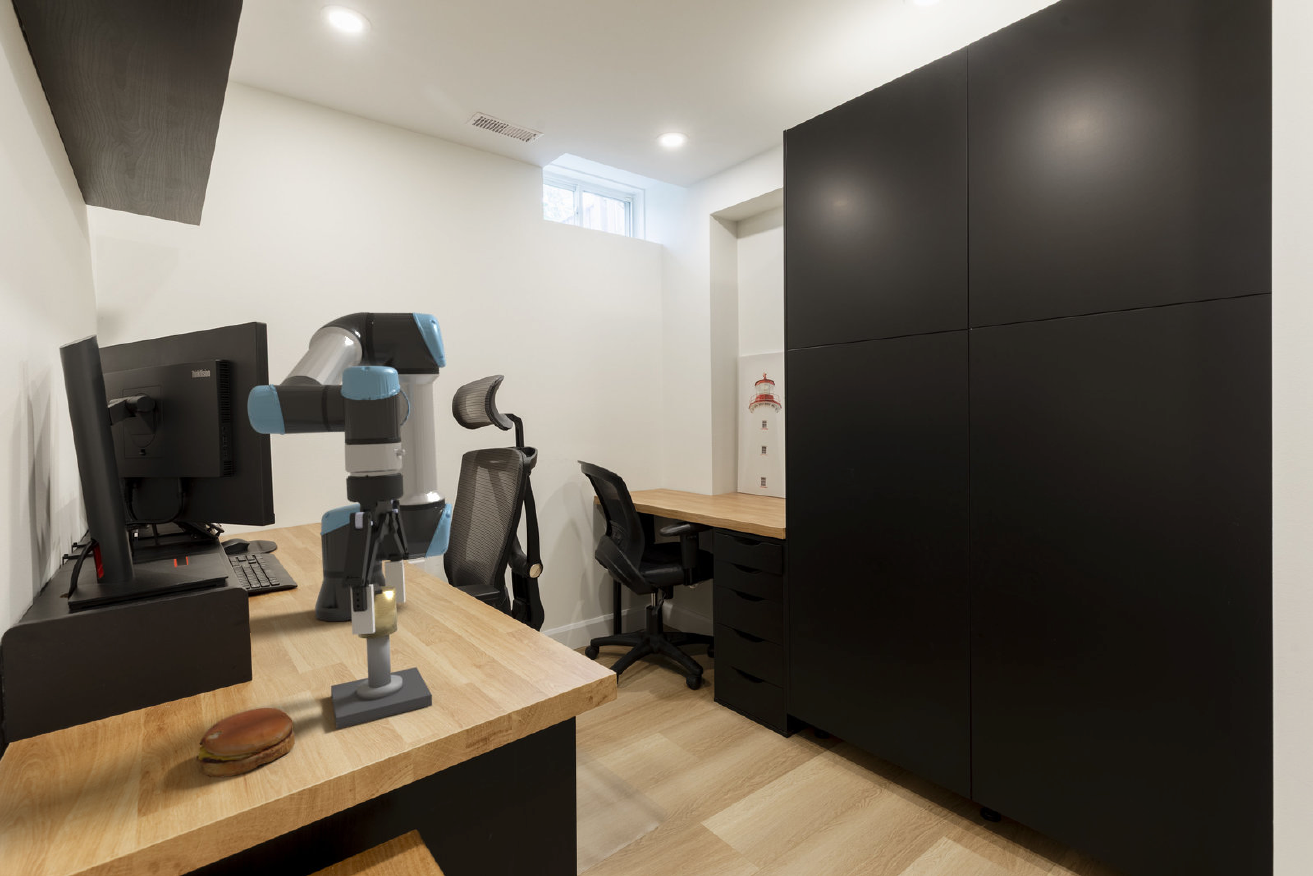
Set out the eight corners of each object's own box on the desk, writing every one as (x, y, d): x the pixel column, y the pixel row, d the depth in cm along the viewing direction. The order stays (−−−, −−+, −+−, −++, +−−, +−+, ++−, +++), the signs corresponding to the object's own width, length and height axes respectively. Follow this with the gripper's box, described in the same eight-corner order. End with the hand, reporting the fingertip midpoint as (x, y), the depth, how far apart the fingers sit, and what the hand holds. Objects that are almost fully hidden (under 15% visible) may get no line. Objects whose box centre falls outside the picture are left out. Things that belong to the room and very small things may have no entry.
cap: (355, 631, 89) (353, 586, 89) (393, 623, 92) (392, 580, 92) (360, 641, 84) (358, 594, 84) (400, 633, 87) (398, 587, 87)
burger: (311, 739, 78) (310, 703, 78) (250, 782, 69) (247, 741, 69) (246, 734, 80) (244, 699, 80) (178, 775, 71) (175, 735, 71)
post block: (331, 696, 90) (328, 629, 90) (416, 676, 97) (414, 614, 96) (336, 729, 80) (333, 654, 80) (432, 705, 86) (429, 635, 86)
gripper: (370, 481, 77) (378, 647, 77) (424, 465, 101) (429, 590, 102) (308, 483, 76) (316, 650, 77) (378, 466, 101) (383, 593, 101)
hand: (381, 617), depth 89 cm, fingers open, 13 cm apart
